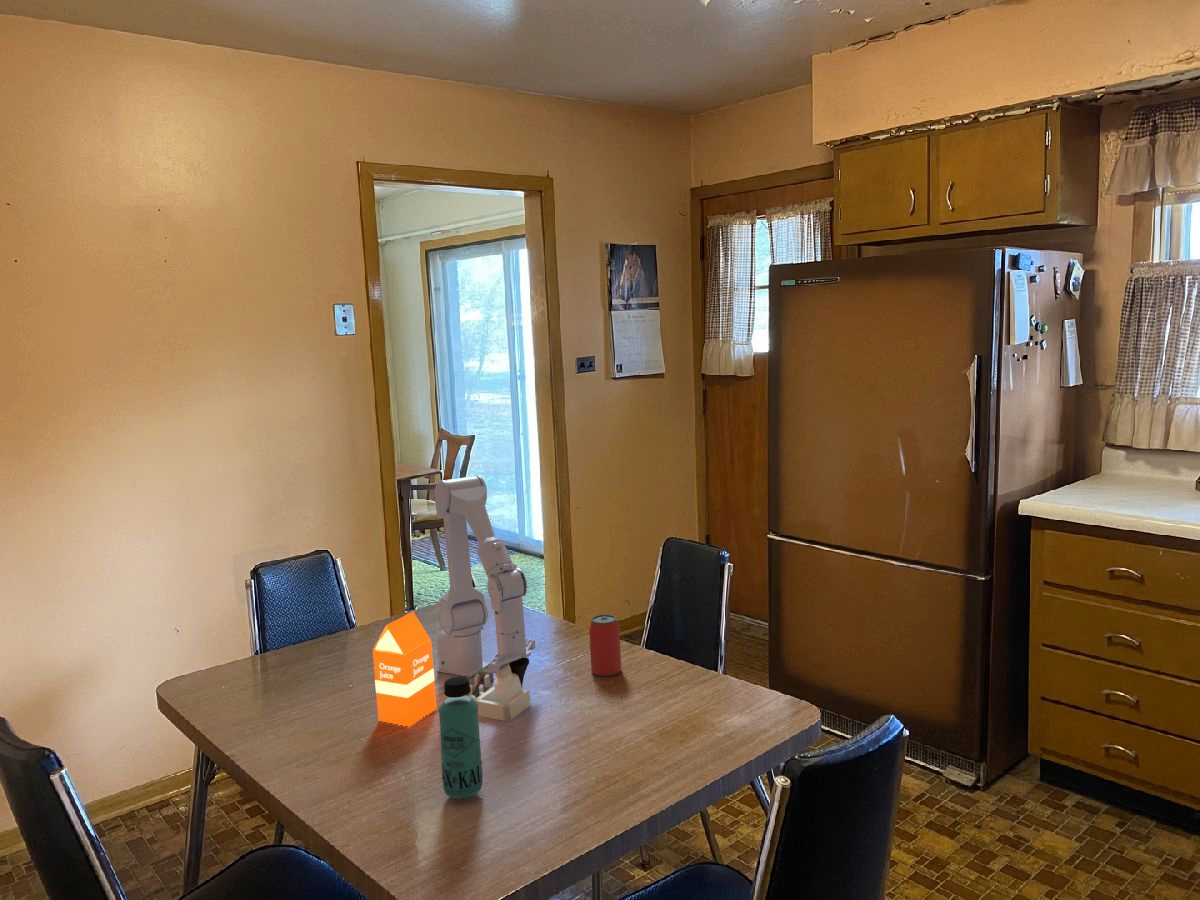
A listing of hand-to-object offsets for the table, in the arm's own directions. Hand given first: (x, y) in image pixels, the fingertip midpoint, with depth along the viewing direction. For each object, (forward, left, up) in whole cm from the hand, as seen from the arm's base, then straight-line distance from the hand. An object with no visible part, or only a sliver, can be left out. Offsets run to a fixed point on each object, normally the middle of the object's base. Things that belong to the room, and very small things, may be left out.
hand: (515, 694), depth 177 cm
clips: (-9, 0, -2) cm, 9 cm away
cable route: (-9, +1, -2) cm, 9 cm away
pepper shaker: (0, -1, -1) cm, 2 cm away
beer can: (+10, +21, -2) cm, 23 cm away
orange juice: (-17, -13, -2) cm, 22 cm away
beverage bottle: (+12, -34, -2) cm, 36 cm away
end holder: (-1, -4, -2) cm, 4 cm away
